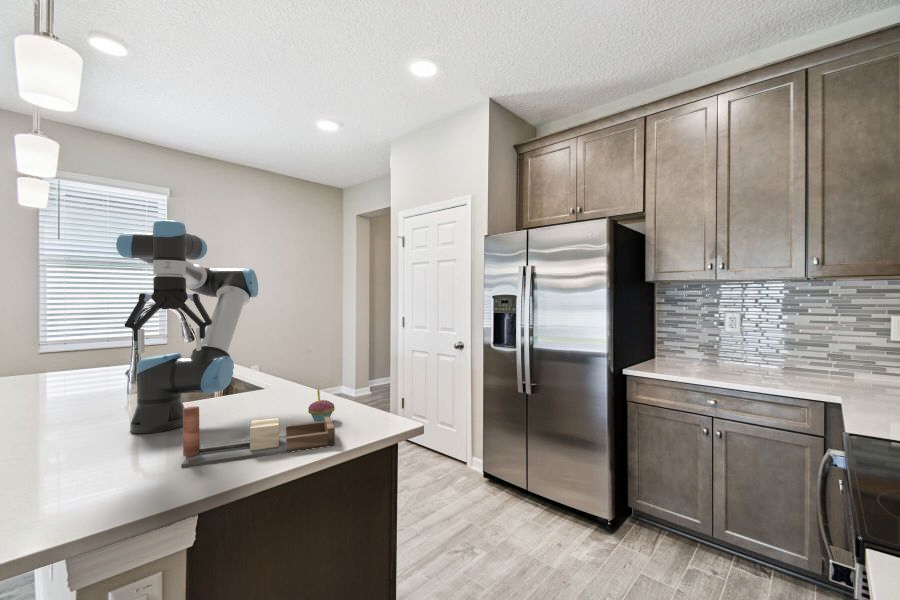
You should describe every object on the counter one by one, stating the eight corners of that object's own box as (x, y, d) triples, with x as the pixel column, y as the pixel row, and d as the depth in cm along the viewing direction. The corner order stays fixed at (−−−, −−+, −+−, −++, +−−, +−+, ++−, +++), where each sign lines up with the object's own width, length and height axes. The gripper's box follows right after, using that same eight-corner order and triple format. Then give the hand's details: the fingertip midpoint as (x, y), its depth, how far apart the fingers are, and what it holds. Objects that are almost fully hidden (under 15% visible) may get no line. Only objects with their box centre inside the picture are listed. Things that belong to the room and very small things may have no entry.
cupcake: (326, 426, 129) (326, 389, 129) (302, 425, 130) (302, 388, 130) (339, 418, 137) (338, 384, 137) (316, 417, 139) (316, 383, 139)
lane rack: (192, 450, 109) (191, 431, 109) (330, 432, 123) (330, 416, 123) (181, 467, 98) (181, 447, 98) (334, 445, 112) (334, 428, 112)
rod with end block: (186, 450, 107) (186, 405, 107) (278, 438, 115) (278, 397, 115) (180, 460, 100) (179, 412, 100) (278, 446, 109) (278, 403, 109)
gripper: (109, 274, 104) (110, 356, 104) (218, 276, 113) (219, 350, 114) (120, 276, 111) (120, 352, 111) (222, 277, 120) (223, 347, 121)
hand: (170, 351), depth 112 cm, fingers open, 13 cm apart
